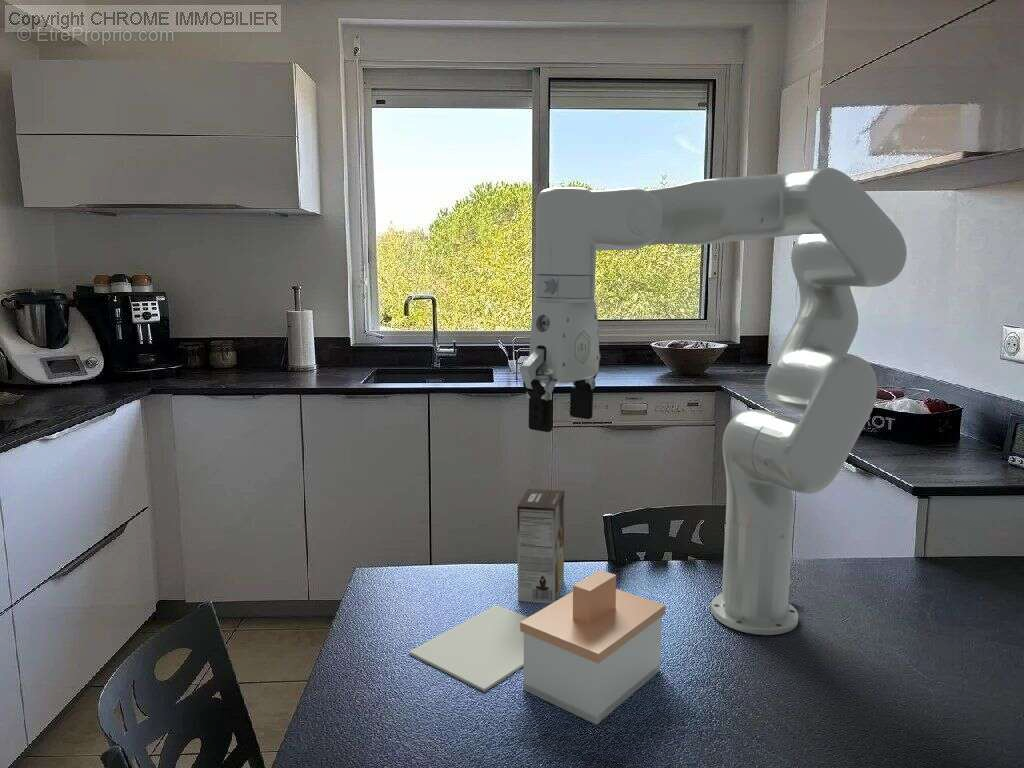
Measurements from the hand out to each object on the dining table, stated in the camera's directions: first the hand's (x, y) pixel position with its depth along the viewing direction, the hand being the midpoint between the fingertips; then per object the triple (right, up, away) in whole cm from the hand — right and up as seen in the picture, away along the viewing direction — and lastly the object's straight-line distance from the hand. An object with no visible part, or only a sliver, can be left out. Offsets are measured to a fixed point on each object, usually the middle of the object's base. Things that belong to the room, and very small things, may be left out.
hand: (561, 423), depth 94 cm
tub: (+4, -33, 0) cm, 33 cm away
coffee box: (-2, -29, +26) cm, 39 cm away
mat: (-9, -32, +9) cm, 34 cm away
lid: (+4, -27, -1) cm, 27 cm away
